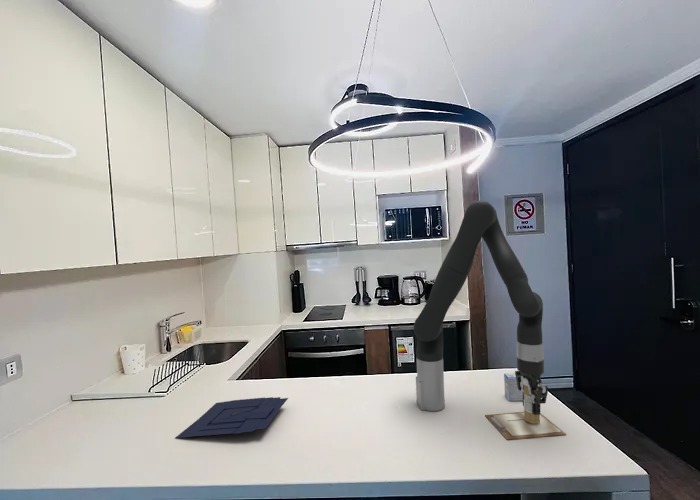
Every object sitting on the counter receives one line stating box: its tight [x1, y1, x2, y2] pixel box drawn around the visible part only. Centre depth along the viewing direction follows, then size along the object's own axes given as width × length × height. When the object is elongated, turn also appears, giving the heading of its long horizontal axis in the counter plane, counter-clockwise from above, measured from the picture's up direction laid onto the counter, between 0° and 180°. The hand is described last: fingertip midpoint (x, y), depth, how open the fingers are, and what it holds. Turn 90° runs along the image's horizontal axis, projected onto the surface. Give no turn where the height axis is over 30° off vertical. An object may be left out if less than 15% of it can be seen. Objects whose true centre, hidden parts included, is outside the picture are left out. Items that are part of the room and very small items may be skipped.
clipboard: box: [484, 411, 567, 441], centre depth 108 cm, size 18×14×2 cm
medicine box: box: [503, 372, 523, 402], centre depth 125 cm, size 8×4×9 cm, turn 84°
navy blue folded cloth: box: [175, 396, 289, 439], centre depth 118 cm, size 24×30×4 cm
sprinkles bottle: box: [523, 378, 540, 424], centre depth 108 cm, size 5×5×13 cm
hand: (531, 410), depth 108 cm, fingers closed on sprinkles bottle, 4 cm apart
